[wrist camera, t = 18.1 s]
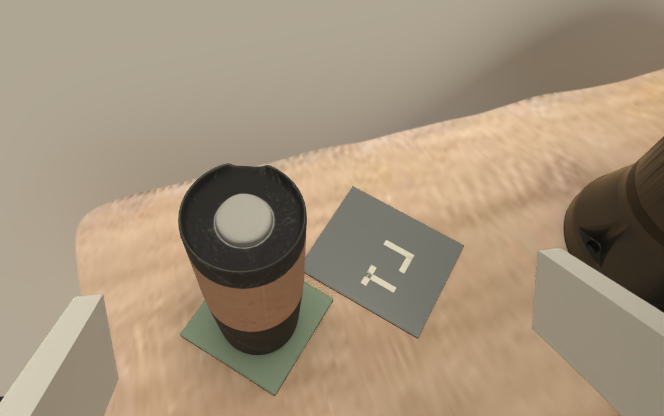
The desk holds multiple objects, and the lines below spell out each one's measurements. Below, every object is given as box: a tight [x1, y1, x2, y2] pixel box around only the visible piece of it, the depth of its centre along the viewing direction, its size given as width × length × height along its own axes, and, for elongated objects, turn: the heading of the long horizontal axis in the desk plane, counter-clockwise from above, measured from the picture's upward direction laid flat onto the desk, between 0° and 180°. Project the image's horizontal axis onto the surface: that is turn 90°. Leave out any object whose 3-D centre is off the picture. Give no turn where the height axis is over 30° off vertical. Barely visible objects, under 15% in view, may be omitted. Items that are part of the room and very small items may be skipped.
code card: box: [304, 187, 464, 338], centre depth 53 cm, size 13×11×1 cm
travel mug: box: [178, 164, 307, 355], centre depth 40 cm, size 8×8×20 cm
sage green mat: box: [180, 282, 333, 396], centre depth 49 cm, size 10×10×1 cm
